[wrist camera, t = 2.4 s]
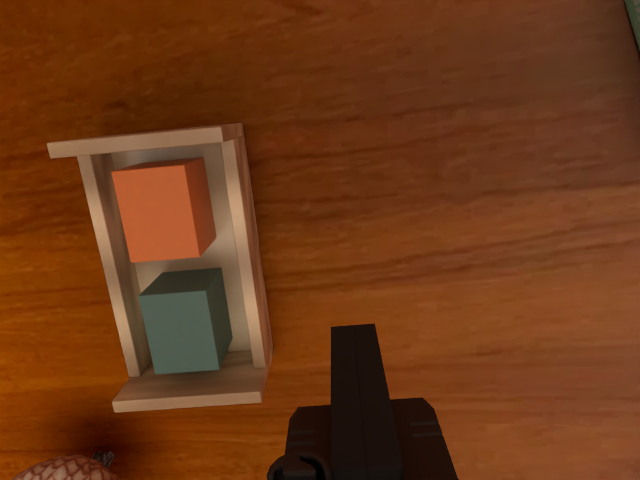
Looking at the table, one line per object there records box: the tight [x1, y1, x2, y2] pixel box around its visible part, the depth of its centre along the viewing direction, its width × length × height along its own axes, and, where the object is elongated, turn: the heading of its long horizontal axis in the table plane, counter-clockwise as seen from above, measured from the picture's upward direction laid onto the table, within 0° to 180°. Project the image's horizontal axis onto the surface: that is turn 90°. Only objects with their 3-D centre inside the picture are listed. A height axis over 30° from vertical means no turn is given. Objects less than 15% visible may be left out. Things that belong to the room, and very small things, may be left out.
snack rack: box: [47, 123, 273, 413], centre depth 28 cm, size 16×9×6 cm, turn 5°
